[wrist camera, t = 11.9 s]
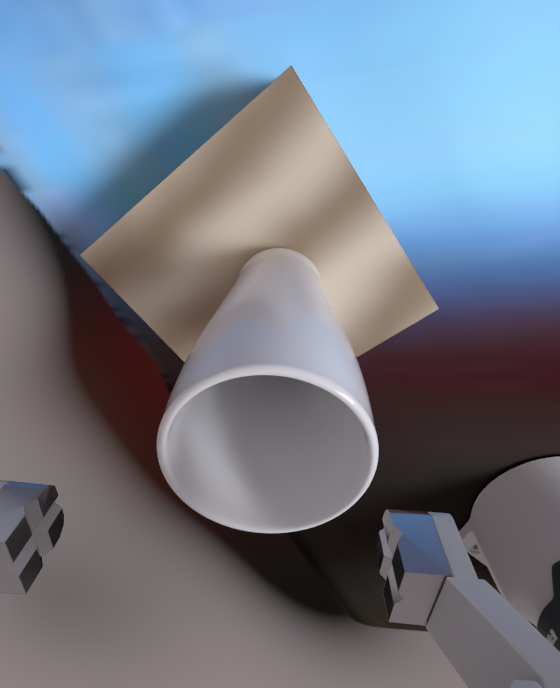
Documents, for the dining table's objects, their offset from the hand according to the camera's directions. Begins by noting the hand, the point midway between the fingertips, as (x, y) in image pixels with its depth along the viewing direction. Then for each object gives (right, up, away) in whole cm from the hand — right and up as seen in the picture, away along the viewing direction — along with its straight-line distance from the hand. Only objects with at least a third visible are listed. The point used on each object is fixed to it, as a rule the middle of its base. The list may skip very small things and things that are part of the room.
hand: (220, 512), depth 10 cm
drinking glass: (+1, +8, +15) cm, 17 cm away
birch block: (+1, +11, +20) cm, 23 cm away
